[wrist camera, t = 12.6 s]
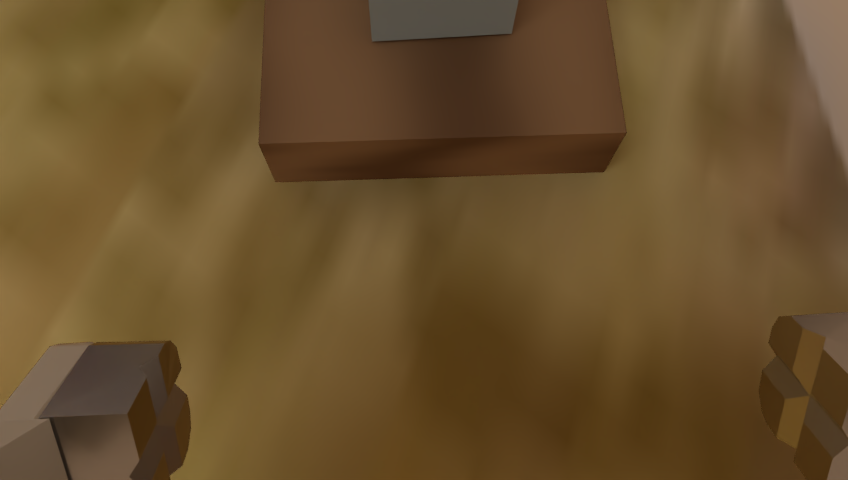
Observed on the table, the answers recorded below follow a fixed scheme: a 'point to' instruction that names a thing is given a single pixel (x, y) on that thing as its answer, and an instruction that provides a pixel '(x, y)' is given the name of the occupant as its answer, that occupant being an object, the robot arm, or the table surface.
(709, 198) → the table surface
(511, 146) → the base slab
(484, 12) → the pillar
